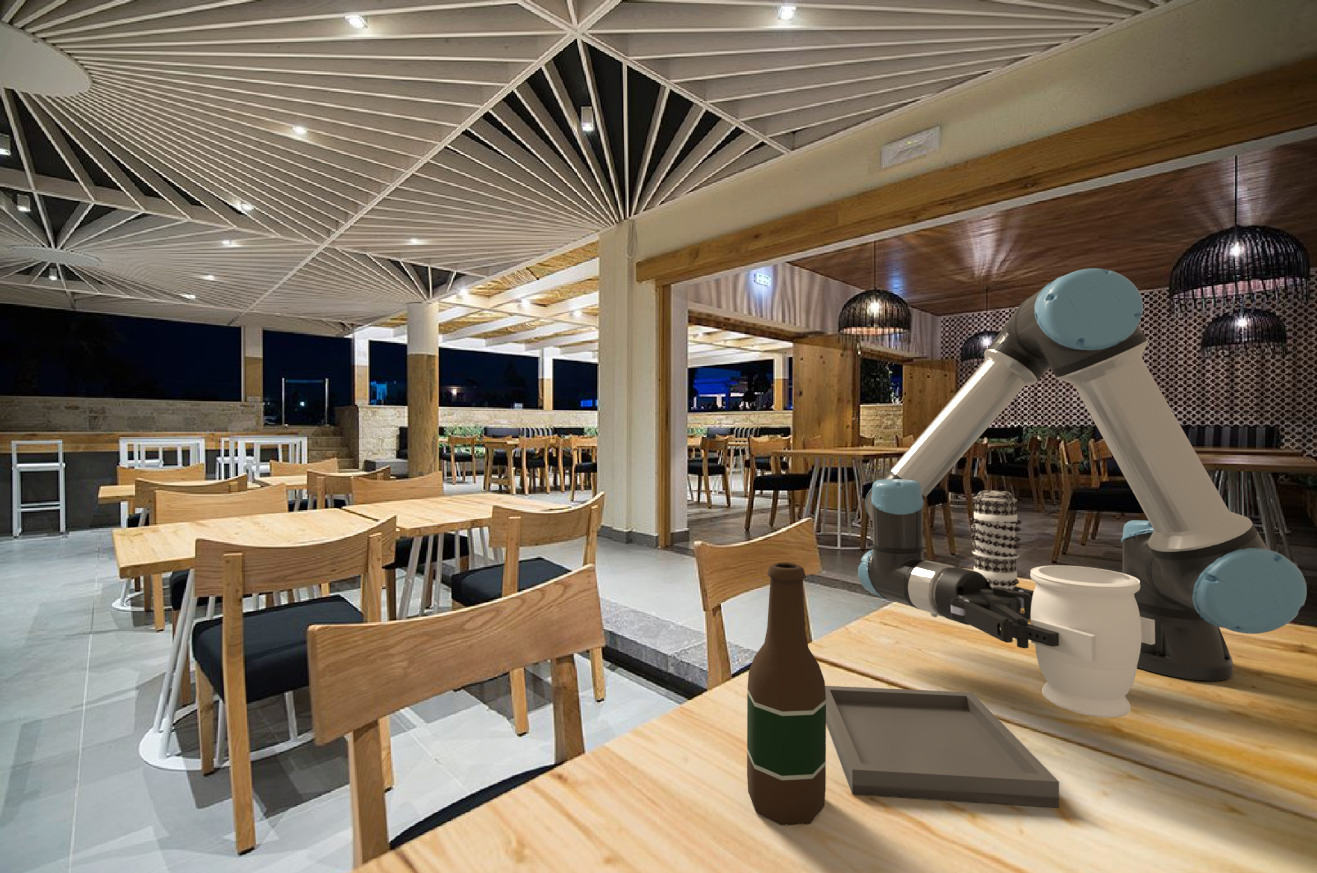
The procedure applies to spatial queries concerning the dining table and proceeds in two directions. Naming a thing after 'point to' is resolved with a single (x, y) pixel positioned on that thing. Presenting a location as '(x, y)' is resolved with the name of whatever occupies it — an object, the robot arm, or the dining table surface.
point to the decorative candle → (996, 538)
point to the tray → (932, 748)
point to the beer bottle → (786, 711)
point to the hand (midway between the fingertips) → (1124, 640)
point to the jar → (1095, 609)
